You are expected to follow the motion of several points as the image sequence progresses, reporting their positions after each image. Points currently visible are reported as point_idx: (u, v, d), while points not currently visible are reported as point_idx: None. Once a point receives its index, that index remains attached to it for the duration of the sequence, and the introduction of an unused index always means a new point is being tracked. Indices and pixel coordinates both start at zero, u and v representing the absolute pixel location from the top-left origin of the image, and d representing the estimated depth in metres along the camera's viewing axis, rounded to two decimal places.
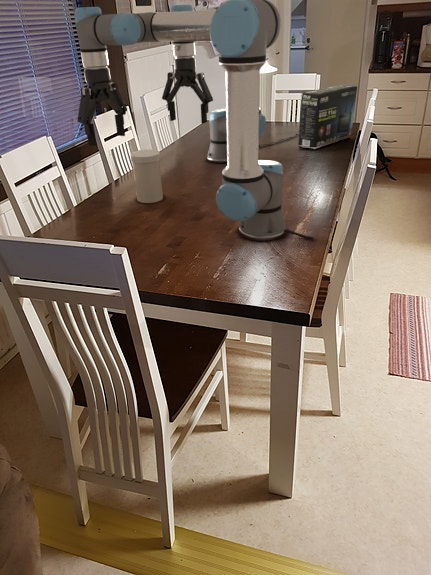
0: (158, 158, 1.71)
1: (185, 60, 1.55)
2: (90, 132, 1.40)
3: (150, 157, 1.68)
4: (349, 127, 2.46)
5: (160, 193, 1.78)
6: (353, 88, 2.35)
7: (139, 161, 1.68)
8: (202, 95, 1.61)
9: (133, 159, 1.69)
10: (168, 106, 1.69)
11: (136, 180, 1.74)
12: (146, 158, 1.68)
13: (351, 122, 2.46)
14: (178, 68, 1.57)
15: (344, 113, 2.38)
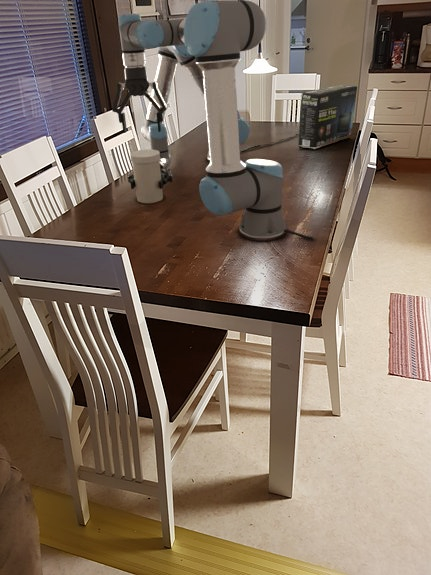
0: (158, 158, 1.71)
1: None
2: None
3: (150, 157, 1.68)
4: (349, 127, 2.46)
5: (160, 193, 1.77)
6: (353, 88, 2.35)
7: (139, 161, 1.68)
8: None
9: (133, 159, 1.69)
10: (165, 183, 1.78)
11: (136, 180, 1.74)
12: (146, 158, 1.67)
13: (351, 122, 2.46)
14: None
15: (344, 113, 2.38)
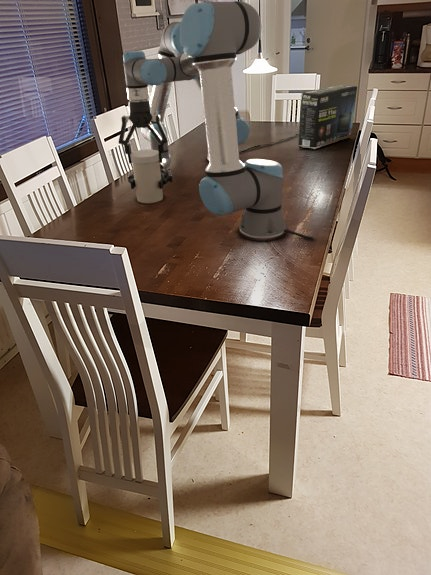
0: (158, 158, 1.71)
1: None
2: None
3: (150, 157, 1.68)
4: (349, 127, 2.46)
5: (160, 193, 1.77)
6: (353, 88, 2.35)
7: (139, 161, 1.68)
8: None
9: (133, 159, 1.69)
10: (165, 183, 1.78)
11: (136, 180, 1.74)
12: (146, 158, 1.67)
13: (351, 122, 2.46)
14: None
15: (344, 113, 2.38)
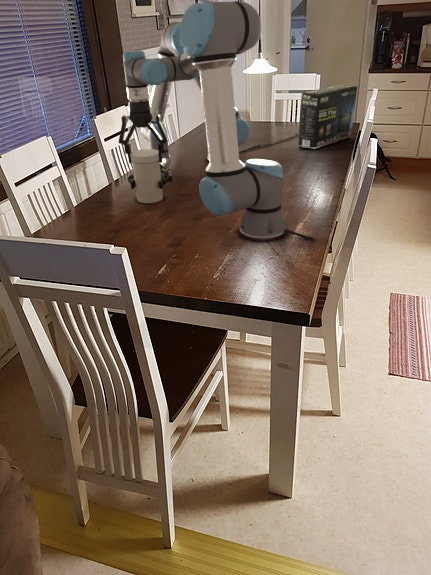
0: None
1: None
2: None
3: None
4: (349, 127, 2.46)
5: (160, 193, 1.77)
6: (353, 88, 2.35)
7: (158, 157, 1.71)
8: None
9: (154, 158, 1.69)
10: (165, 183, 1.78)
11: (136, 180, 1.74)
12: None
13: (351, 122, 2.46)
14: None
15: (344, 113, 2.38)
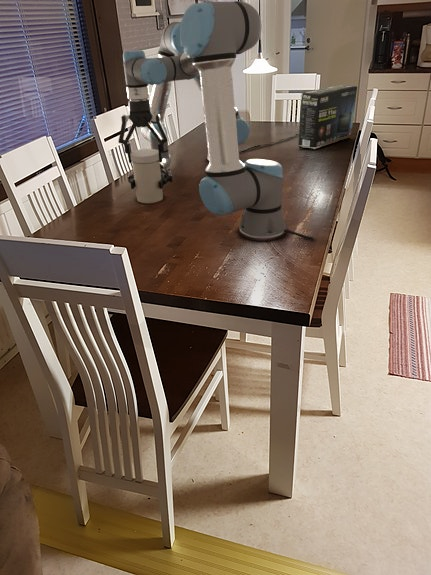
0: None
1: None
2: None
3: None
4: (349, 127, 2.46)
5: (160, 193, 1.77)
6: (353, 88, 2.35)
7: None
8: None
9: None
10: (165, 183, 1.78)
11: (136, 180, 1.74)
12: None
13: (351, 122, 2.46)
14: None
15: (344, 113, 2.38)
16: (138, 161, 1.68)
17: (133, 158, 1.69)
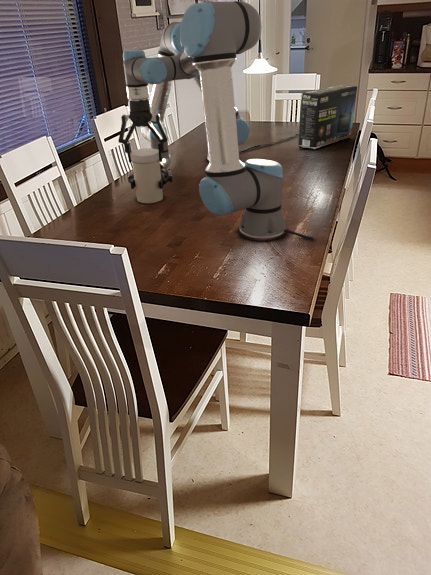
0: (139, 160, 1.68)
1: None
2: None
3: (131, 155, 1.69)
4: (349, 127, 2.46)
5: (160, 193, 1.77)
6: (353, 88, 2.35)
7: None
8: None
9: None
10: (165, 183, 1.78)
11: (136, 180, 1.74)
12: (130, 155, 1.70)
13: (351, 122, 2.46)
14: None
15: (344, 113, 2.38)
16: (158, 157, 1.71)
17: (154, 157, 1.69)
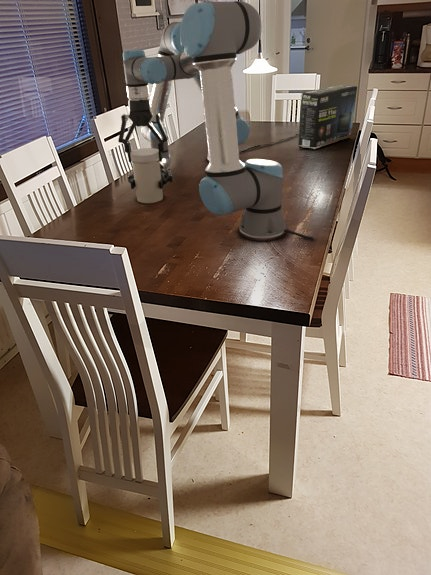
0: None
1: None
2: None
3: (152, 155, 1.68)
4: (349, 127, 2.46)
5: (160, 193, 1.77)
6: (353, 88, 2.35)
7: (141, 160, 1.68)
8: None
9: (134, 158, 1.68)
10: (165, 183, 1.78)
11: (136, 180, 1.74)
12: (148, 156, 1.67)
13: (351, 122, 2.46)
14: None
15: (344, 113, 2.38)
16: None
17: None
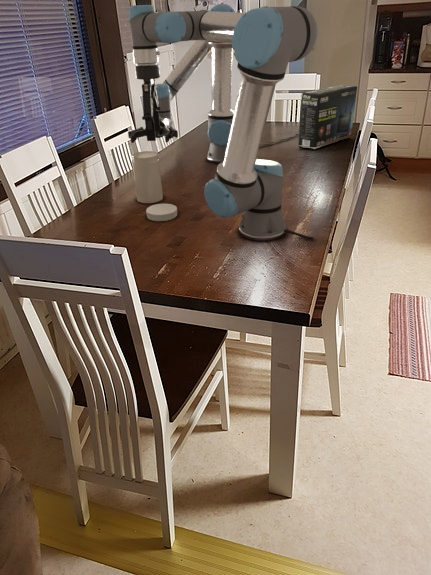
0: None
1: None
2: None
3: None
4: (349, 127, 2.46)
5: (160, 193, 1.77)
6: (353, 88, 2.35)
7: None
8: None
9: None
10: (171, 137, 1.82)
11: (136, 180, 1.74)
12: None
13: (351, 122, 2.46)
14: (159, 137, 1.95)
15: (344, 113, 2.38)
16: (157, 219, 1.61)
17: (151, 216, 1.61)
